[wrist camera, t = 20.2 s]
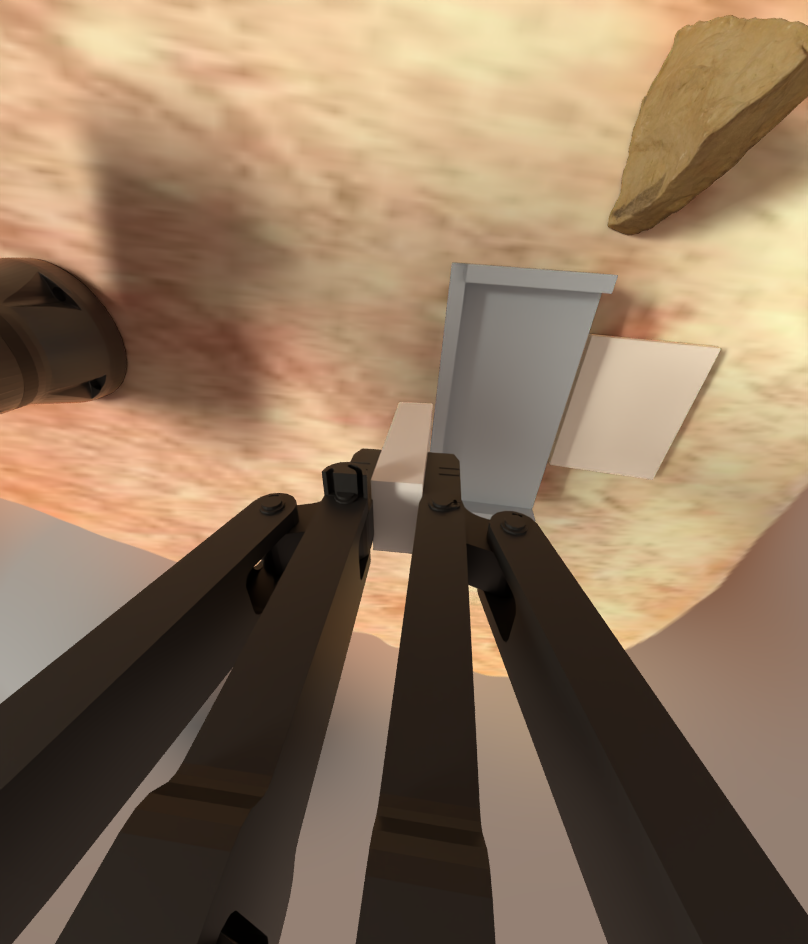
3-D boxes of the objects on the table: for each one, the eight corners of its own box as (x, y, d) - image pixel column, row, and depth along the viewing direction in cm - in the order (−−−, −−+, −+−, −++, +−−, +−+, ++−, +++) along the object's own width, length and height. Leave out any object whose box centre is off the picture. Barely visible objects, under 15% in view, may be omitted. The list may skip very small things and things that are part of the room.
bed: (427, 480, 45) (422, 514, 39) (452, 262, 32) (452, 262, 26) (522, 492, 44) (532, 529, 38) (587, 272, 31) (618, 275, 25)
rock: (647, 274, 29) (803, 148, 23) (637, 227, 22) (854, 33, 16) (571, 190, 32) (693, 59, 26) (542, 125, 25) (699, -70, 19)
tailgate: (549, 464, 40) (652, 479, 38) (592, 335, 33) (721, 348, 31) (548, 459, 41) (648, 474, 39) (588, 333, 34) (713, 345, 32)
